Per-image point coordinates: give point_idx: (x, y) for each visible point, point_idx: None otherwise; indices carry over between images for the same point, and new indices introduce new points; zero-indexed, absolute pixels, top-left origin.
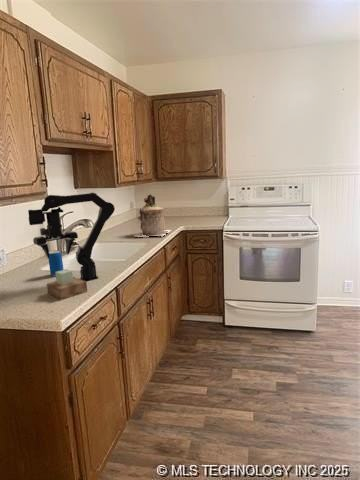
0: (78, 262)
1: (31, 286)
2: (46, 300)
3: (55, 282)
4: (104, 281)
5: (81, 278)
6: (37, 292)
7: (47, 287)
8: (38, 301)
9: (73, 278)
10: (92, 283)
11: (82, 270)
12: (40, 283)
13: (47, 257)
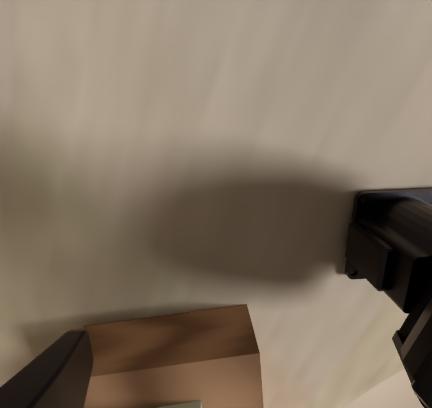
0: (405, 359)
1: (4, 71)
2: None
3: (119, 392)
4: None
5: (348, 231)
6: (31, 255)
7: None
8: None
9: (244, 392)
10: (343, 329)
11: (390, 275)
12: (86, 45)
13: (61, 344)
